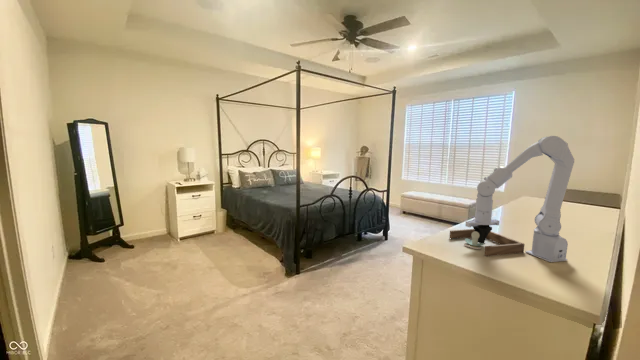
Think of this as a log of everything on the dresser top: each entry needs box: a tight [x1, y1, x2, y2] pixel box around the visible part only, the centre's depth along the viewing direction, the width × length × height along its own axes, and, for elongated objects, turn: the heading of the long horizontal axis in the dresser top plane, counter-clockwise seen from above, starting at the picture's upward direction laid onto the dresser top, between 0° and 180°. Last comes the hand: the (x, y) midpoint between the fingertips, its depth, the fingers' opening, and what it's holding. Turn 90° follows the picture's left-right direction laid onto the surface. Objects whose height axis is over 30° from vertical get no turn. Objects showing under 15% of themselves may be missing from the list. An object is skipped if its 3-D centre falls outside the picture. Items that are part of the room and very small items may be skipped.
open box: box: [449, 228, 525, 257], centre depth 112 cm, size 20×17×4 cm
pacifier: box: [463, 231, 486, 250], centre depth 110 cm, size 7×6×6 cm
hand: (480, 242), depth 112 cm, fingers closed
